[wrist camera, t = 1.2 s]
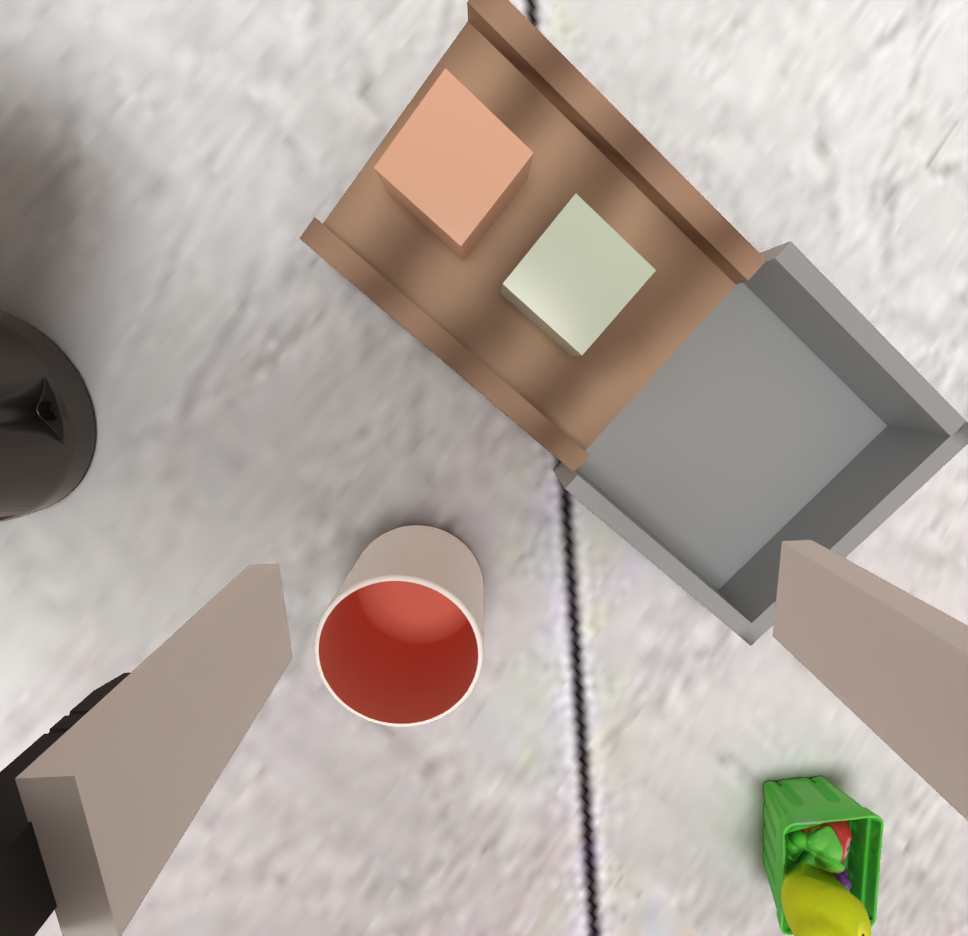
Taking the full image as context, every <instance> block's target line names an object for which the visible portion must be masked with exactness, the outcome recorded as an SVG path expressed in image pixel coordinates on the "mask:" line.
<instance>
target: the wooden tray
mask: <svg viewBox="0 0 968 936" xmlns="http://www.w3.org/2000/svg"><path fill="white" fill-rule="evenodd" d="M467 6H468V22H467V23H466V25H465V26H464V28H463V29H462V30H461V32H460V33H459V35H458V36H457V37H456V39H455V40H454V42H453V43H452V44H451V46H450V47H449V49H448V50H447V51H446V53H445V54H444V56H443V57H442V58H441V60H440V61H439V63H438V64H437V65H436V67H435V68H434V70H433V71H432V72H431V74H430V75H429V77H428V78H427V79H426V81H425V82H424V84H423V85H422V86H421V88H420V89H419V90H418V92H417V93H416V95H415V96H414V97H413V99H412V100H411V102H410V103H409V104H408V106H407V107H406V109H405V110H404V111H403V113H402V114H401V116H400V117H399V118H398V120H397V121H396V123H395V124H394V125H393V127H392V128H391V130H390V131H389V132H388V134H387V135H386V137H385V138H384V139H383V141H382V142H381V144H380V145H379V146H378V148H377V149H376V151H375V152H374V153H373V155H372V156H371V158H370V159H369V160H368V162H367V163H366V165H365V166H364V167H363V169H362V170H361V172H360V173H359V174H358V176H357V177H356V179H355V180H354V181H353V183H352V184H351V185H350V187H349V188H348V190H347V191H346V192H345V194H344V195H343V197H342V198H341V199H340V201H339V202H338V204H337V205H336V206H335V208H334V209H333V211H332V212H331V213H330V215H329V216H328V218H327V219H326V220H325V222H324V223H323V224H322V223H321V222H320V221H318V220H317V219H316V218H315V217H314V219H313V220H312V222H311V223H310V224H309V226H308V227H307V229H306V230H305V231H304V233H303V234H302V236H301V237H300V239H301V240H302V241H303V242H305V243H306V244H307V245H308V246H309V247H310V248H312V249H313V250H314V251H315V252H316V253H317V254H319V255H320V256H321V257H322V258H323V259H324V260H326V261H327V262H328V263H329V264H330V265H331V266H333V267H334V268H335V269H336V270H337V271H339V272H340V273H341V274H342V275H343V276H344V277H346V278H347V279H348V280H349V281H350V282H351V283H353V284H354V285H355V286H356V287H357V288H358V289H360V290H361V291H362V292H363V293H364V294H365V295H367V296H368V297H369V298H370V299H371V300H372V301H374V302H375V303H376V304H377V305H378V306H380V307H381V308H382V309H383V310H384V311H385V312H387V313H388V314H389V315H390V316H391V317H392V318H394V319H395V320H396V321H397V322H398V323H399V324H401V325H402V326H403V327H404V328H405V329H406V330H408V331H409V332H410V333H411V334H412V335H413V336H415V337H416V338H417V339H418V340H419V341H421V342H422V343H423V344H424V345H425V346H426V347H428V348H429V349H430V350H431V351H432V352H433V353H435V354H436V355H437V356H438V357H439V358H440V359H442V360H443V361H444V362H445V363H446V364H447V365H449V366H450V367H451V368H452V369H453V370H454V371H456V372H457V373H458V374H459V375H460V376H462V377H463V378H464V379H465V380H466V381H467V382H469V383H470V384H471V385H472V386H473V387H474V388H476V389H477V390H478V391H479V392H480V393H481V394H483V395H484V396H485V397H486V398H487V399H488V400H490V401H491V402H492V403H493V404H494V405H495V406H497V407H498V408H499V409H500V410H501V411H502V412H504V413H505V414H506V415H507V416H508V417H510V418H511V419H512V420H513V421H514V422H515V423H517V424H518V425H519V426H520V427H521V428H522V429H524V430H525V431H526V432H527V433H528V434H529V435H531V436H532V437H533V438H534V439H535V440H536V441H538V442H539V443H540V444H541V445H542V446H543V447H545V448H546V449H547V450H548V451H549V452H551V453H552V454H553V455H554V456H555V457H556V458H558V459H559V460H560V461H561V462H562V463H563V464H565V465H566V466H567V467H568V468H569V469H570V470H572V471H573V472H575V471H576V470H577V468H578V467H579V466H580V465H581V464H582V463H583V462H584V461H585V460H586V459H587V457H588V456H589V454H588V453H587V452H585V450H586V449H587V448H588V447H589V446H590V445H591V444H592V443H593V442H594V441H595V439H596V438H597V437H598V436H599V435H600V434H601V433H602V432H603V431H604V429H605V428H606V427H607V426H608V425H609V424H610V423H611V422H612V421H613V420H614V418H615V417H616V416H617V415H618V414H619V413H620V412H621V411H622V410H623V408H624V407H625V406H626V405H627V404H628V403H629V402H630V401H631V400H632V399H633V397H634V396H635V395H636V394H637V393H638V392H639V391H640V390H641V389H642V388H643V386H644V385H645V384H646V383H647V382H648V381H649V380H650V379H651V378H652V376H653V375H654V374H655V373H656V372H657V371H658V370H659V369H660V368H661V367H662V365H663V364H664V363H665V362H666V361H667V360H668V359H669V358H670V357H671V355H672V354H673V353H674V352H675V351H676V350H677V349H678V348H679V347H680V346H681V344H682V343H683V342H684V341H685V340H686V339H687V338H688V337H689V336H690V335H691V333H692V332H693V331H694V330H695V329H696V328H697V327H698V326H699V325H700V323H701V322H702V321H703V320H704V319H705V318H706V317H707V316H708V315H709V314H710V312H711V311H712V310H713V309H714V308H715V307H716V306H717V305H718V304H719V303H720V301H721V300H722V299H723V298H724V297H725V296H726V295H727V294H728V293H729V291H730V290H731V289H732V288H733V287H734V286H735V285H736V284H739V283H743V282H746V281H748V280H749V279H750V278H751V277H752V276H753V275H754V274H755V273H756V272H757V271H758V269H759V268H760V267H761V266H762V265H763V264H764V263H765V262H766V261H767V260H766V259H765V258H764V257H763V256H762V255H761V254H760V253H759V252H758V251H757V250H756V249H755V248H754V247H753V246H752V245H751V244H750V243H749V242H748V241H747V240H746V239H745V238H744V237H743V236H742V235H741V234H740V233H739V232H738V231H737V230H736V229H735V228H734V227H733V226H732V225H731V224H730V223H729V222H728V221H727V220H726V219H725V218H724V217H723V216H722V215H721V214H720V213H719V212H718V211H717V210H716V209H715V208H714V207H713V206H712V205H711V204H710V203H709V202H708V201H707V200H706V199H705V198H704V197H703V196H702V195H701V194H700V193H699V192H698V191H697V190H696V189H695V188H694V187H693V186H692V185H691V184H690V183H689V182H688V181H687V180H686V179H685V178H684V177H683V176H682V175H681V174H680V173H679V172H678V171H677V170H676V169H675V168H674V167H673V166H672V165H671V164H670V163H669V162H668V161H667V160H666V159H665V158H664V157H663V156H662V155H661V154H660V153H659V152H658V151H657V149H656V148H655V147H654V146H653V145H652V144H651V143H650V142H649V141H648V140H647V139H646V138H645V137H644V136H643V135H642V134H641V133H640V132H639V131H638V130H637V129H636V128H635V127H634V126H633V125H632V124H631V123H630V122H629V121H628V120H627V119H626V118H625V117H624V116H623V115H622V114H621V113H620V112H619V111H618V110H617V109H616V108H615V107H614V106H613V105H612V104H611V103H610V102H609V101H608V100H607V99H606V98H605V97H604V96H603V95H602V94H601V93H600V92H599V91H598V90H597V89H596V88H595V87H594V86H593V85H592V84H591V83H590V82H589V81H588V80H587V79H586V78H585V77H584V76H583V75H582V74H581V73H580V72H579V71H578V70H577V69H576V68H575V67H574V66H573V65H572V64H571V63H570V62H569V61H568V60H567V59H566V58H565V57H564V56H563V55H562V54H561V53H560V52H559V51H558V50H557V49H556V48H555V47H554V46H553V45H552V44H551V43H550V42H549V41H548V40H547V39H546V38H545V37H544V36H543V35H542V34H541V33H540V32H539V31H538V30H537V29H536V28H535V27H534V26H533V25H532V24H531V23H530V22H529V21H528V20H527V19H526V17H525V16H524V15H523V14H522V13H521V12H520V11H519V10H518V9H517V8H516V7H515V6H514V5H513V4H512V3H511V2H510V1H509V0H469V1H468V2H467ZM445 68H446V69H447V70H448V71H449V72H450V73H451V74H452V75H453V76H454V77H455V78H456V79H457V80H458V81H459V82H461V83H462V84H463V85H464V86H465V87H466V88H467V89H468V90H469V91H470V92H471V93H472V94H473V95H474V96H475V97H476V98H477V99H478V100H479V101H480V102H481V103H482V104H483V105H484V106H485V107H487V108H488V109H489V110H490V111H491V112H492V113H493V114H494V115H495V116H496V117H497V118H498V119H499V120H500V121H501V122H502V123H503V124H504V125H505V126H506V127H507V128H508V129H509V130H510V131H512V132H513V133H514V134H515V135H516V136H517V137H518V138H519V139H520V140H521V141H522V142H523V143H524V144H525V145H526V146H527V147H528V148H529V149H530V150H531V151H532V152H533V153H534V154H533V158H532V162H531V167H530V171H529V175H528V179H527V181H526V182H525V184H524V185H523V186H522V187H521V189H520V190H519V191H518V193H517V194H516V195H515V196H514V198H513V199H512V200H511V201H510V203H509V204H508V205H507V207H506V208H505V209H504V210H503V212H502V213H501V214H500V215H499V217H498V218H497V219H496V221H495V222H494V223H493V224H492V226H491V227H490V228H489V230H488V231H487V232H486V233H485V235H484V236H483V237H482V238H481V240H480V241H479V242H478V244H477V245H476V246H475V247H474V249H473V250H472V251H471V252H470V254H469V255H468V256H467V258H466V259H465V260H463V259H461V258H460V257H459V256H458V255H457V254H456V253H455V252H454V251H453V250H451V249H450V248H449V247H448V246H447V245H446V244H445V243H444V242H442V241H441V240H440V239H439V238H438V237H437V236H436V235H435V234H434V233H432V232H431V231H430V230H429V229H428V228H427V227H426V226H425V225H424V224H422V223H421V222H420V221H419V220H418V219H417V218H416V217H415V216H414V215H412V214H411V213H410V212H409V211H408V210H407V209H406V208H405V207H403V206H402V205H401V204H400V203H399V202H398V201H397V200H396V199H395V198H393V197H392V196H391V195H390V194H389V193H388V192H387V190H386V188H385V186H384V185H383V183H382V181H381V179H380V178H379V176H378V174H377V173H376V171H375V169H374V167H375V165H376V164H377V162H378V161H379V160H380V158H381V157H382V156H383V154H384V153H385V151H386V150H387V149H388V147H389V146H390V144H391V143H392V142H393V140H394V139H395V137H396V136H397V135H398V133H399V132H400V131H401V129H402V128H403V126H404V125H405V124H406V122H407V121H408V119H409V118H410V117H411V115H412V114H413V112H414V111H415V110H416V108H417V107H418V106H419V104H420V103H421V101H422V100H423V99H424V97H425V96H426V94H427V93H428V92H429V90H430V89H431V87H432V86H433V85H434V83H435V82H436V81H437V79H438V78H439V76H440V75H441V74H442V72H443V71H444V69H445ZM575 194H577V195H578V196H579V197H580V198H581V199H582V200H583V201H584V202H585V203H587V204H588V205H589V206H590V207H591V208H592V209H593V210H594V211H595V212H596V213H597V214H598V215H599V216H600V217H601V218H602V219H603V220H604V221H605V222H606V223H607V224H608V225H609V226H610V227H612V228H613V229H614V230H615V231H616V232H617V233H618V234H619V235H620V236H621V237H622V238H623V239H624V240H625V241H626V242H627V243H628V244H629V245H630V246H631V247H632V248H633V249H634V250H635V251H636V252H638V253H639V254H640V255H641V256H642V257H643V258H644V259H645V260H646V261H647V262H648V263H649V264H650V265H651V266H652V267H653V268H654V269H655V270H656V271H655V272H654V273H653V274H652V276H651V277H650V278H649V279H648V280H647V281H646V282H645V284H644V285H643V286H642V287H641V288H640V289H639V291H638V292H637V293H636V294H635V295H634V296H633V297H632V299H631V300H630V301H629V302H628V303H627V304H626V306H625V307H624V308H623V309H622V310H621V311H620V312H619V314H618V315H617V316H616V317H615V318H614V319H613V321H612V322H611V323H610V324H609V325H608V326H607V327H606V329H605V330H604V331H603V332H602V333H601V334H600V336H599V337H598V338H597V339H596V340H595V341H594V342H593V344H592V345H591V346H590V347H589V348H588V349H587V351H586V352H585V353H584V354H583V355H582V356H570V355H569V354H567V353H566V352H565V351H564V350H563V349H562V348H561V347H560V346H558V345H557V344H556V343H555V342H554V341H553V340H552V339H551V338H550V337H548V336H547V335H546V334H545V333H544V332H543V331H542V330H541V329H540V328H538V327H537V326H536V325H535V324H534V323H533V322H532V321H531V320H529V319H528V318H527V317H526V316H525V315H524V314H523V313H522V312H521V311H519V310H518V309H517V308H516V307H515V306H514V305H513V304H512V303H511V302H509V301H508V300H507V299H506V298H505V297H504V296H503V295H502V294H500V293H501V288H502V284H503V283H504V281H505V280H506V279H507V278H508V276H509V275H510V274H511V273H512V272H513V270H514V269H515V268H516V267H517V265H518V264H519V263H520V262H521V260H522V259H523V258H524V257H525V255H526V254H527V253H528V252H529V250H530V249H531V248H532V247H533V246H534V244H535V243H536V242H537V241H538V239H539V238H540V237H541V236H542V234H543V233H544V232H545V231H546V229H547V228H548V227H549V226H550V225H551V223H552V222H553V221H554V220H555V218H556V217H557V216H558V215H559V213H560V212H561V211H562V210H563V208H564V207H565V206H566V205H567V203H568V202H569V201H570V200H571V199H572V197H573V196H574V195H575Z"/></svg>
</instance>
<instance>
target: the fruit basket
mask: <svg viewBox="0 0 968 936" xmlns="http://www.w3.org/2000/svg"><path fill="white" fill-rule="evenodd" d="M764 798H765V804H764V822H765V826H764V829H763V841H764V845H765V847H764V850H763V862H764V866H765V870H766V873H767V877H768V880H769V884H770V887H771V891H772V894H773V897H774V901H775V905H776V908H777V917H778V921H779V925H780V929H781V931H782V933H784V934H787V935H794V936H871V926H873V924H874V923H875V921H876V911H877V894H878V883H879V872H880V859H881V846H882V834H883V820H882V819H881V818H880V817H879V816H878V815H876V814H875V813H873V812H872V811H870V810H869V809H867V808H865V807H862V806H861V805H859V804H858V803H857V802H856V801H854V800H853V799H852V798H850V797H849V796H848V795H846V794H845V793H844V792H842V791H841V790H840V789H838V788H837V787H836V786H834V785H833V784H832V783H830V782H829V781H828V780H826V779H825V778H824V777H822V776H817V777H814V778H811V780H810V779H809V778H797V779H787V780H781V781H778V782H777V783H776V782H772V781H767V782H765V783H764Z"/></svg>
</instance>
